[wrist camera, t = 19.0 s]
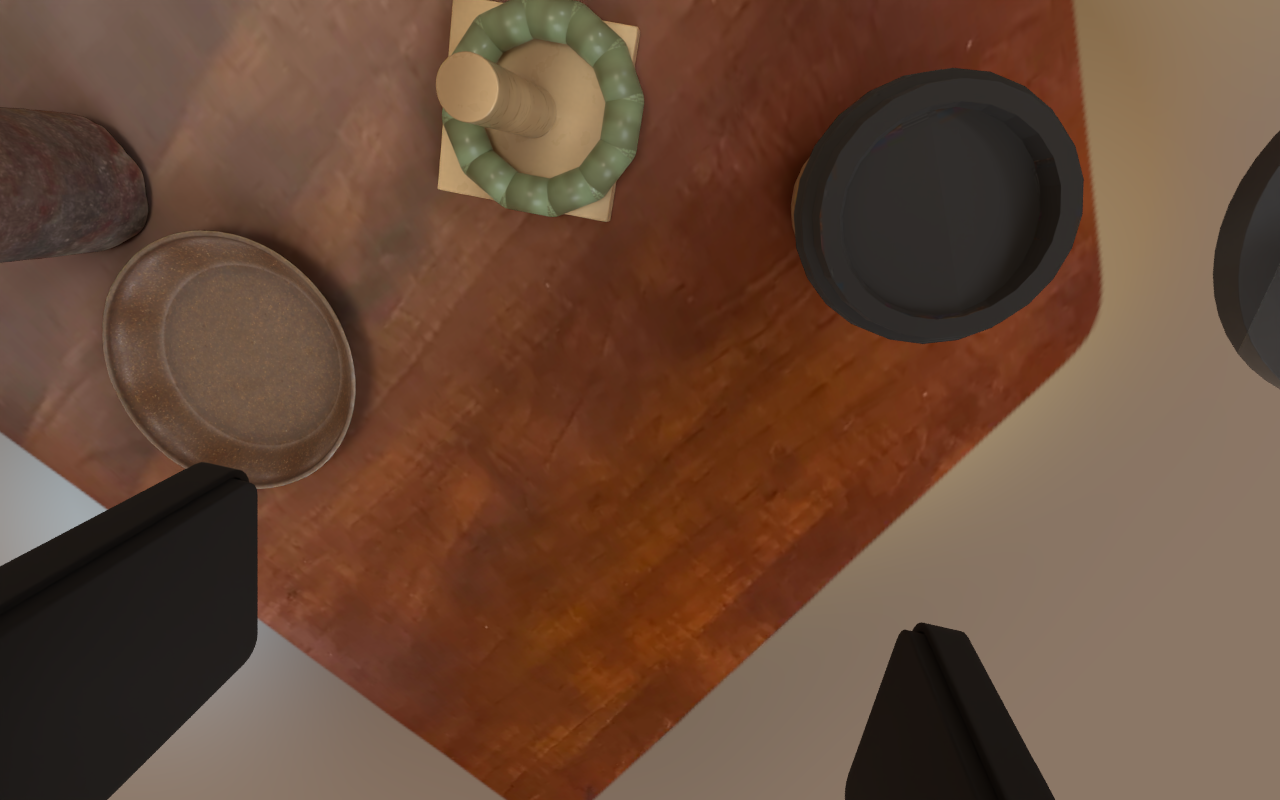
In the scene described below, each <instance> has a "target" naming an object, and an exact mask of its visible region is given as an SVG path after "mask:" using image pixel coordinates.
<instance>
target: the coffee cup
mask: <svg viewBox="0 0 1280 800" xmlns="http://www.w3.org/2000/svg"><path fill="white" fill-rule="evenodd" d="M1083 181H1084V179H1083V175H1082V171H1081V167H1080V163H1079V159H1078V155H1077V151H1076V147H1075V145H1074V143H1073V142H1072V140H1071V138H1070V137H1069V135H1068V134H1067V132H1066V130H1065V129H1064V127H1063V125H1062V124H1061V122H1060V121H1059V119H1058V117H1057V116H1056V115H1055V113H1054V112H1053V110H1052V109H1051V108H1050V107H1049V106H1047V105H1046V104H1045V103H1044V102H1043V101H1042V100H1040V99H1039V98H1038V97H1037V96H1036V95H1035V94H1033V93H1032V92H1031V91H1030V90H1029V89H1027V88H1026V87H1025V86H1023V85H1021V84H1018V83H1016V82H1014V81H1011V80H1009V79H1006V78H1004V77H1002V76H999V75H997V74H995V73H992V72H987V71H977V70H968V69H958V68H950V69H944V70H942V69H941V70H935V71H929V72H923V73H917V74H912V75H906V76H902V77H900V78H898V79H896V80H893V81H891V82H889V83H887V84H885V85H882V86H880V87H878V88H876V89H874V90H871V91H869V92H868V93H866V94H865V95H864V96H863V97H861V98H860V99H859V100H858V101H856V102H855V103H854V104H853V105H851V106H850V107H849V108H847V109H846V110H845V111H844V112H842V113H841V114H840V115H839V116H838V117H837V118H836V119H835V121H834V122H833V123H832V124H831V126H830V127H829V128H828V130H827V131H826V132H825V133H824V135H823V136H822V137H821V139H820V140H819V141H818V142H817V144H816V145H815V147H814V149H813V151H812V153H811V155H810V157H809V159H808V160H807V161H806V162H805V164H804V165H803V167H802V169H801V171H800V174H799V176H798V178H797V180H796V183H795V185H794V190H793V195H792V201H791V216H792V227H793V230H794V233H795V238H796V248H797V251H798V254H799V256H800V259H801V262H802V265H803V267H804V270H805V273H806V276H807V278H808V280H809V281H810V282H811V284H812V285H813V287H814V288H815V289H816V291H817V292H818V293H819V295H820V296H821V298H822V299H823V300H824V302H825V303H826V304H827V305H828V306H829V307H831V308H832V309H833V310H834V311H836V312H837V313H838V314H839V315H841V316H842V317H843V318H845V319H846V320H847V321H848V322H850V323H851V324H853V325H856V326H858V327H861V328H863V329H865V330H868V331H870V332H873V333H875V334H877V335H880V336H883V337H885V338H888V339H891V340H898V341H906V342H913V343H920V344H926V343H935V342H944V341H953V340H959V339H961V338H964V337H967V336H970V335H973V334H975V333H978V332H981V331H984V330H986V329H989V328H992V327H993V326H995V325H996V324H998V323H1000V322H1002V321H1003V320H1005V319H1006V318H1008V317H1009V316H1011V315H1013V314H1014V313H1016V312H1017V311H1019V310H1020V309H1022V308H1023V307H1025V306H1027V305H1028V304H1029V303H1030V302H1031V301H1032V300H1033V299H1034V298H1035V297H1036V296H1037V295H1038V294H1039V293H1040V292H1041V291H1042V290H1043V289H1044V288H1045V287H1046V286H1047V285H1048V284H1049V283H1050V282H1051V281H1052V280H1053V279H1054V277H1055V275H1056V274H1057V272H1058V270H1059V269H1060V267H1061V265H1062V264H1063V262H1064V260H1065V259H1066V257H1067V255H1068V254H1069V252H1070V250H1071V249H1072V246H1073V243H1074V240H1075V236H1076V233H1077V230H1078V227H1079V223H1080V220H1081V217H1082V210H1083Z"/></svg>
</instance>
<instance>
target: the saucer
mask: <svg viewBox="0 0 1280 800" xmlns="http://www.w3.org/2000/svg"><path fill="white" fill-rule="evenodd" d="M102 328H103V332H102V339H103V350H104V357H105V362H106V366H107V370H108V373H109V377H110V379H111V382H112V385H113V387H114V389H115V391H116V393H117V396H118V398H119V400H120V401H121V403H122V405H123V407H124V409H125V411H126V412H127V414H128V415H129V417H130V418H131V420H132V421H133V422H134V424H135V425H136V426H137V427H138V429H139V430H140V431H141V432H142V433H143V434H144V435H145V436H146V438H147V439H148V440H149V441H150V442H151V443H152V444H153V445H154V446H155V447H156V448H157V449H158V450H160V451H161V452H162V453H164V454H165V455H166V456H167V457H168V458H170V459H171V460H172V461H174V462H175V463H177V464H178V465H180V466H181V467H183V468H185V469H187V468H189V467H190V466H192V465H194V464H197V463H200V462H206V463H211V464H216V465H220V466H225V467H229V468H234V469H238V470H242V471H243V472H245V473H246V474H247V476H248V478H249V482H250V483H252V484H254V485H255V487H256V489H263V488H273V487H279V486H283V485H286V484H290V483H293V482H295V481H298V480H300V479H303V478H304V477H307V476H308V475H310V474H312V473H313V472H315V471H316V470H318V469H319V468H320V467H321V466H323V465H324V464H325V463H326V462H327V461H328V460H329V459H330V458H331V456H332V455H333V454H334V453H335V451H336V450H337V449H338V447H339V446H340V444H341V442H342V441H343V439H344V437H345V435H346V432H347V430H348V427H349V425H350V422H351V418H352V415H353V410H354V403H355V392H356V381H355V379H356V378H355V371H354V365H353V359H352V354H351V350H350V347H349V343H348V340H347V337H346V335H345V332H344V330H343V328H342V325H341V323H340V321H339V319H338V317H337V316H336V314H335V312H334V310H333V309H332V307H331V306H330V304H329V302H328V301H327V300H326V298H325V297H324V296H323V294H322V293H321V292H320V291H319V289H318V288H317V287H316V286H315V285H314V284H313V283H312V282H311V280H310V279H309V278H308V277H307V276H306V275H304V274H303V273H302V272H301V271H300V270H299V269H298V268H297V267H296V266H294V265H293V264H292V263H291V262H289V261H288V260H287V259H285V258H284V257H282V256H281V255H279V254H278V253H276V252H275V251H273V250H271V249H270V248H268V247H266V246H264V245H262V244H260V243H257V242H255V241H253V240H250V239H248V238H244V237H241V236H238V235H235V234H230V233H225V232H219V231H206V230H201V231H200V230H193V231H185V232H179V233H176V234H172V235H169V236H166V237H164V238H161V239H159V240H157V241H155V242H153V243H151V244H149V245H148V246H146V247H145V248H143V249H141V250H140V251H139V252H137V253H136V254H135V255H134V256H133V257H132V258H131V259H130V260H129V261H128V262H127V263H126V265H125V266H124V267H123V269H122V270H121V271H120V273H119V274H118V276H117V277H116V279H115V281H114V283H113V284H112V287H111V289H110V291H109V294H108V296H107V299H106V304H105V309H104V314H103V324H102Z"/></svg>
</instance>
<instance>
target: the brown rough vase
mask: <svg viewBox="0 0 1280 800" xmlns="http://www.w3.org/2000/svg"><path fill="white" fill-rule="evenodd" d="M147 214H148V202H147V197H146V192H145V183H144V178H143V174H142V171H141V169H140V168H139V167H138V165H137V164H136V163H135V162H134V160H133V159H132V158H131V157H130V156H129V155H127V154H126V152H125V151H124V149H123V147H122V146H120V145H119V144H118V142H117V141H116V140H115V139H114V138H113V137H112V136H111V134H110V133H109V132H108V131H107V130H106V129H105V128H104V127H103V126H101V125H98V124H96V123H94V122H92V121H90V120H89V119H87V118H85V117H82V116H78V115H73V114H68V113H61V112H53V111H41V110H29V109H20V108H5V107H0V263H2V262H12V261H20V260H29V259H40V258H48V257H57V256H66V255H73V254H82V253H91V252H98V251H103V250H107V249H110V248H114V247H115V246H117V245H120V244H121V243H123V242H124V241H126V240H128V239H130V238H131V237H133V236H135V235H137V234H138V233H139V232H140V231H141V230H142V228H143V227H144V225H145V222H146V220H147Z"/></svg>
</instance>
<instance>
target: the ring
mask: <svg viewBox="0 0 1280 800" xmlns="http://www.w3.org/2000/svg"><path fill="white" fill-rule="evenodd" d="M532 39H539V40H545V41H550V42H556V43H562V44H567V45H568V46H569V47H571V48H572V49H573V50H574V51H575V52H576V53H577V54H578V55H579V56H581V57H582V58H583V59H584V60H585V61H586V62H587V63H588V64H589V65H591V66H592V67H593V69H594V71H595V74H596V77H597V80H598V83H599V86H600V89H601V92H602V94H603V97H604V100H605V109H604V116H603V123H602V130H601V137H600V140H599V141H598V143H597V144H596V145H595V147H594V148H593V149H592V151H591V152H590V153H589V155H588V156H587V157H586V159H585V160H584V161H583V163H582V164H581V165H580V166H579V167H577V168H574V169H572V170H569V171H567V172H564V173H562V174H559V175H557V176H554V177H552V178H545V177H540V176H535V175H529V174H524V173H519V172H518V171H516V170H515V169H514V168H513V167H512V166H511V165H509V164H508V163H507V162H506V161H505V160H504V159H503V158H501V157H500V156H499V155H498V154H497V153H496V152H494V150H493V148H492V145H491V143H490V140H489V138H488V135H487V133H486V130H485V128H484V127H482V126H478V125H474V124H470V123H466V122H462V121H459V120H456V119H455V118H453V117H451V116H450V115H449V114H448V113H447V112H446V111H445V110H444V109H442V122H443V125H444V127H445V130H446V132H447V135H448V137H449V140H450V142H451V145H452V147H453V149H454V152H455V154H456V157H457V159H458V162H459V164H460V167H461V169H462V171H463V172H464V174H465V175H466V176H467V177H468V178H470V179H471V180H472V181H473V182H474V183H475V184H477V185H478V186H479V187H480V188H481V189H482V190H484V191H485V192H486V193H487V194H488V195H489V196H491V197H492V198H493V199H494V200H495V201H496V202H498V203H499V204H500V205H501V206H503V207H505V208H508V209H512V210H517V211H523V212H528V213H533V214H538V215H544V216H549V217H557V216H560V215H562V214H565V213H568V212H570V211H573V210H575V209H578V208H581V207H583V206H586V205H588V204H591V203H594V202H596V201H599V200H600V199H602V198H603V197H604V196H605V195H606V194H607V193H608V191H609V190H610V189H611V187H612V186H613V185H614V184H615V182H616V181H617V180H618V178H619V177H620V176H621V175H622V173H623V172H624V171H625V169H626V168H627V167H628V166H629V164H630V163H631V162H632V160H633V159H634V157H635V155H636V151H637V145H638V139H639V133H640V127H641V120H642V114H643V108H644V95H643V92H642V89H641V86H640V83H639V80H638V77H637V74H636V71H635V68H634V65H633V62H632V59H631V56H630V53H629V50H628V47H627V44H626V43H625V41H624V40H623V39H622V38H621V37H620V36H619V35H618V34H617V33H616V32H615V31H613V30H612V29H611V28H610V27H609V26H608V25H607V24H606V23H605V22H604V21H602V20H601V19H600V18H599V17H598V16H597V15H596V14H595V13H594V12H593V11H591V10H590V9H589V8H588V7H587V6H586V5H585V4H583V3H581V2H579V1H573V0H509V1H507V2H505V3H503V4H501V5H499V6H497V7H494V8H492V9H490V10H488V11H486V12H484V13H482V14H480V15H478V16H477V17H476V18H475V19H474V20H473V22H472V24H471V25H470V27H469V28H468V30H467V31H466V33H465V34H464V36H463V38H462V39H461V41H460V42H459V44H458V45H457V47H456V48H455V50H454V52H453V53H452V55H453V54H455V53H457V52H462V51H468V52H473V53H476V54H479V55H481V56H482V57H484V58H486V59H488V60H490V61H492V62H494V63H497V61H498V60H499V58H500V57H501V55H502V54H503V52H506V51H508V50H510V49H512V48H515V47H517V46H519V45H521V44H523V43H526V42H528V41H530V40H532Z"/></svg>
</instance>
